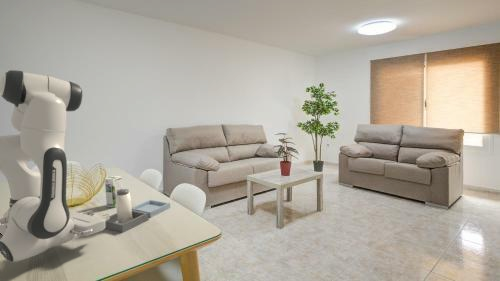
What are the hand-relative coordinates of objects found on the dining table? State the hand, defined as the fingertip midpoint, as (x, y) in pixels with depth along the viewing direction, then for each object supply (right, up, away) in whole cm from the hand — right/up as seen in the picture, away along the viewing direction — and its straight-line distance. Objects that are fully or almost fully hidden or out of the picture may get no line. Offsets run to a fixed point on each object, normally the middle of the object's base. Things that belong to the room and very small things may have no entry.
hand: (100, 214), depth 104 cm
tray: (+11, -5, +24) cm, 27 cm away
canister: (+5, -7, +10) cm, 13 cm away
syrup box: (-10, -4, +32) cm, 34 cm away
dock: (+5, -7, +10) cm, 13 cm away
